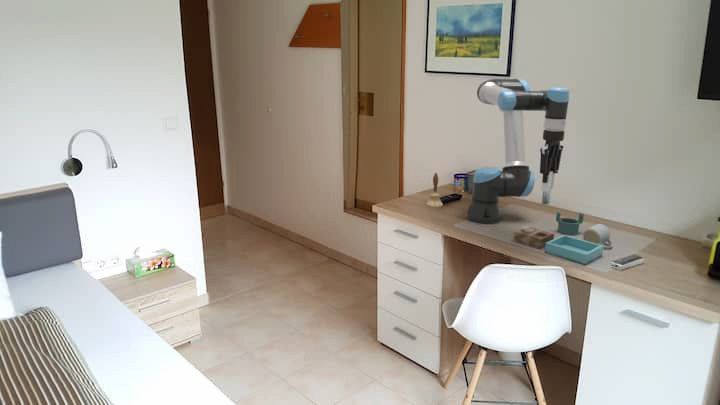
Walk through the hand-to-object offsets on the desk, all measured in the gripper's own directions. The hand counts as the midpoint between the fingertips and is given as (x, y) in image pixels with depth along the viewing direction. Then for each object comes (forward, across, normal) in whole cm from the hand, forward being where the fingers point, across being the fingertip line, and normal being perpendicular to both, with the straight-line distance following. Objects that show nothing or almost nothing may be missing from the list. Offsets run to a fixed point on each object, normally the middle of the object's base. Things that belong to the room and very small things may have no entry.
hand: (547, 189), depth 208 cm
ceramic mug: (+23, +18, -15) cm, 33 cm away
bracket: (+23, +23, 0) cm, 32 cm away
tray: (+23, 0, -14) cm, 26 cm away
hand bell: (+23, +10, +64) cm, 68 cm away
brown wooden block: (+23, 0, +3) cm, 23 cm away
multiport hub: (+23, +6, -31) cm, 40 cm away
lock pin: (+6, 0, 0) cm, 6 cm away
